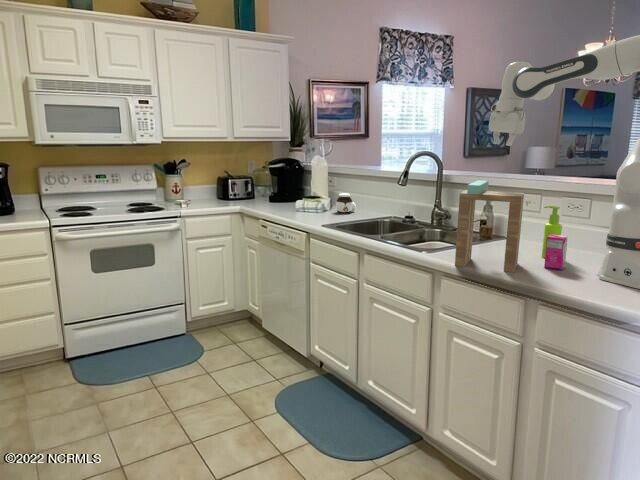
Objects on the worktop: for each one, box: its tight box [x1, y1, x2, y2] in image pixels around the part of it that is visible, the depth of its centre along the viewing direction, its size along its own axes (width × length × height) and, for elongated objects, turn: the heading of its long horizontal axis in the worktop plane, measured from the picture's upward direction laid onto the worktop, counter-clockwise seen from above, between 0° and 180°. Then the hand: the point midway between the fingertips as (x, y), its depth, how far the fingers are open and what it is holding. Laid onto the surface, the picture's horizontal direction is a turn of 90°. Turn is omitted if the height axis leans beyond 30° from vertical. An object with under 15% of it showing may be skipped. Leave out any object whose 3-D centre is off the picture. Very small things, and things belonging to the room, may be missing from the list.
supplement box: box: [543, 235, 568, 271], centre depth 172 cm, size 6×6×12 cm
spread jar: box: [335, 192, 357, 215], centre depth 301 cm, size 12×11×12 cm
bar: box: [466, 179, 489, 194], centre depth 178 cm, size 24×4×3 cm, turn 154°
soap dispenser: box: [541, 205, 563, 260], centre depth 187 cm, size 6×7×20 cm
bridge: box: [454, 189, 525, 273], centre depth 174 cm, size 14×20×26 cm
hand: (502, 144), depth 186 cm, fingers open, 8 cm apart
